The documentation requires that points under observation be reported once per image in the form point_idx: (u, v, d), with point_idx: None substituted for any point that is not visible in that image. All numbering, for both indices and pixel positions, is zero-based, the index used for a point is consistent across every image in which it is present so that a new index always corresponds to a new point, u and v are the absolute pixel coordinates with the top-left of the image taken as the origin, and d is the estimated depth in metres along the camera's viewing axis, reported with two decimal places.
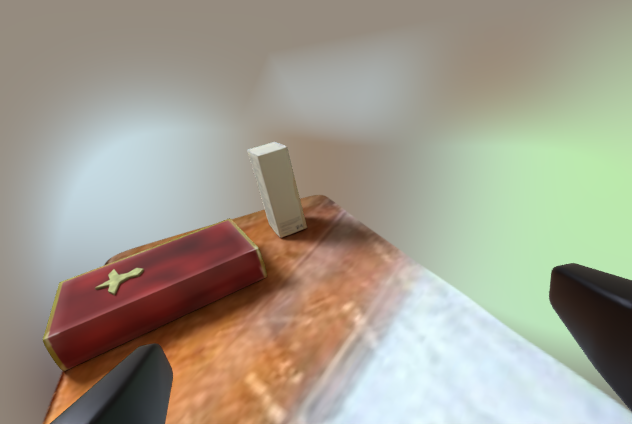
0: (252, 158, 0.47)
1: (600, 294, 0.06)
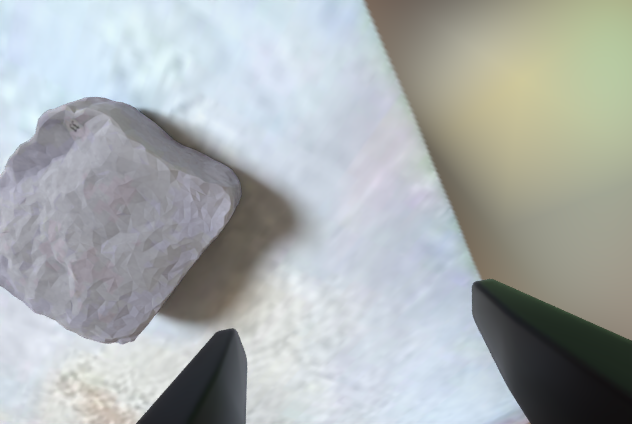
0: None
1: (504, 312, 0.06)
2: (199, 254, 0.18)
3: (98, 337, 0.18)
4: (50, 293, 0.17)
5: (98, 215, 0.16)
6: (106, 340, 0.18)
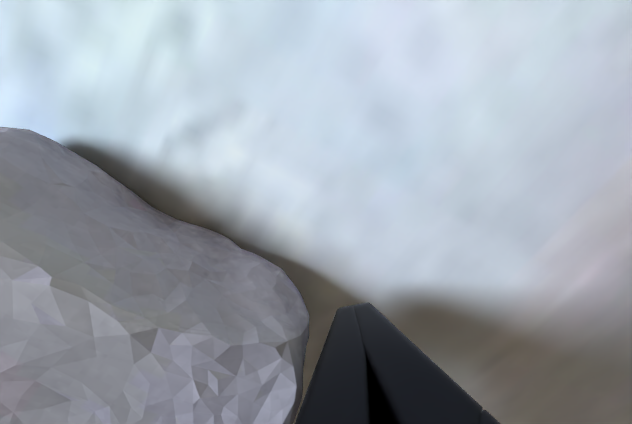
0: None
1: (360, 339, 0.06)
2: None
3: None
4: None
5: None
6: None
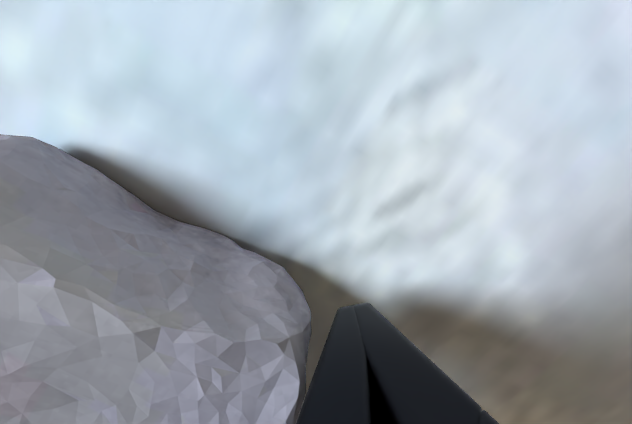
0: None
1: (360, 339, 0.06)
2: None
3: None
4: None
5: None
6: None
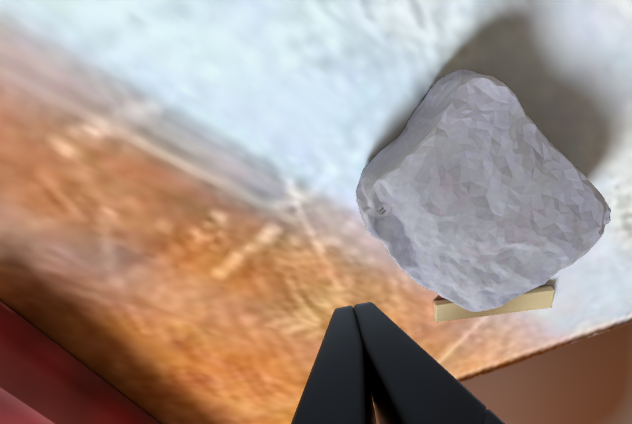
0: None
1: (363, 339, 0.06)
2: (531, 121, 0.16)
3: (593, 239, 0.18)
4: (530, 266, 0.18)
5: (464, 209, 0.17)
6: (600, 233, 0.17)
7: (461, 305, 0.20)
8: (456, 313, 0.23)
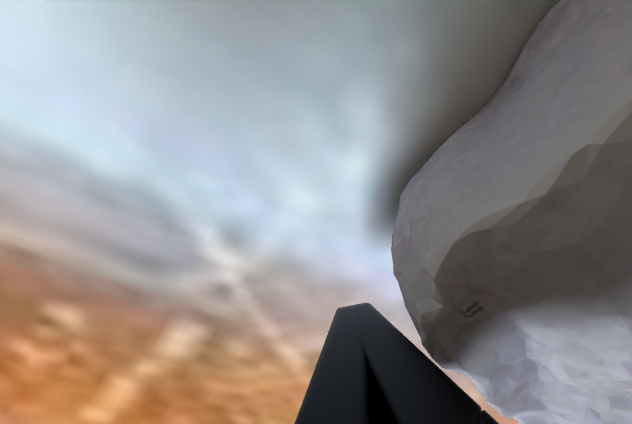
0: None
1: (360, 339, 0.06)
2: None
3: None
4: None
5: None
6: None
7: None
8: None
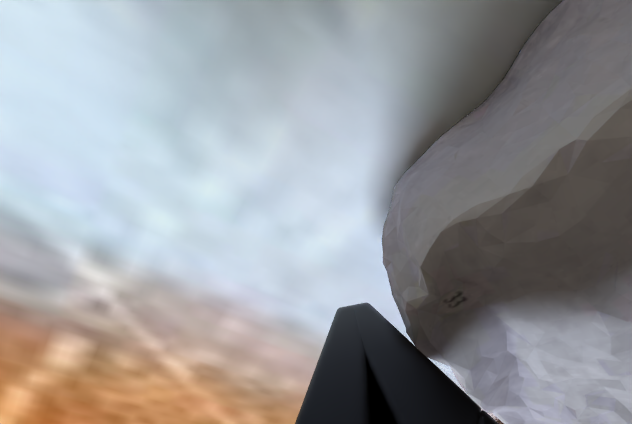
0: None
1: (359, 340, 0.06)
2: None
3: None
4: None
5: None
6: None
7: None
8: None
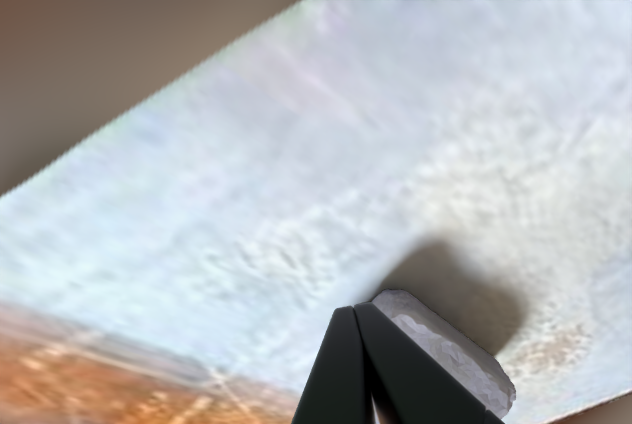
0: None
1: (363, 339, 0.06)
2: (447, 339, 0.21)
3: (502, 414, 0.22)
4: None
5: None
6: (507, 410, 0.22)
7: None
8: None
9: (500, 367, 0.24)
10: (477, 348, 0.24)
